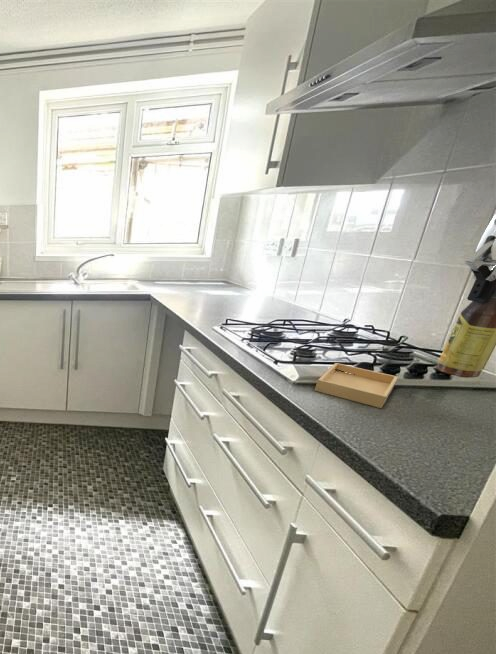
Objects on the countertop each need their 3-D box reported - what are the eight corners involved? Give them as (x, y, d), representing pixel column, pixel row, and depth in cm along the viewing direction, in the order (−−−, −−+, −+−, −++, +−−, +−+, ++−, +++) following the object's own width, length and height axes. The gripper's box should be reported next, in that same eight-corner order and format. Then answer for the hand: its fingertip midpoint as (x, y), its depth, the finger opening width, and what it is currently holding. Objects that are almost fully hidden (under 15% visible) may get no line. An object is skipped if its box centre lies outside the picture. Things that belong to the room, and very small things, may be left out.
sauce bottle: (444, 366, 88) (490, 269, 80) (485, 376, 82) (540, 274, 74) (427, 370, 85) (473, 271, 77) (468, 381, 80) (523, 276, 72)
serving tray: (331, 372, 109) (335, 362, 108) (393, 387, 101) (398, 376, 100) (314, 390, 99) (318, 379, 98) (381, 408, 91) (386, 396, 90)
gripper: (514, 194, 68) (463, 306, 75) (625, 193, 67) (563, 306, 74) (467, 195, 74) (425, 297, 82) (567, 194, 74) (515, 297, 81)
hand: (491, 300), depth 78 cm, fingers closed on sauce bottle, 4 cm apart
